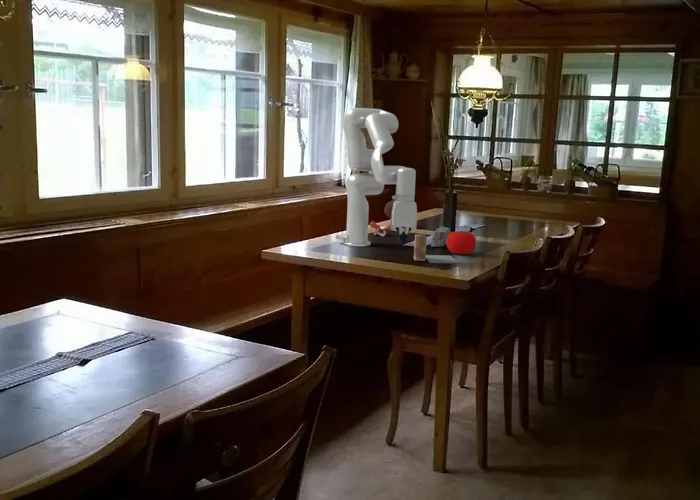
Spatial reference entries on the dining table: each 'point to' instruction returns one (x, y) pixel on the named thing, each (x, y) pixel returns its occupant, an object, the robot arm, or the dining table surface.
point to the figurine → (379, 228)
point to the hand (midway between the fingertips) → (402, 243)
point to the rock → (440, 237)
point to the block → (420, 247)
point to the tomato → (461, 242)
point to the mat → (441, 259)
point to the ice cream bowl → (389, 208)
